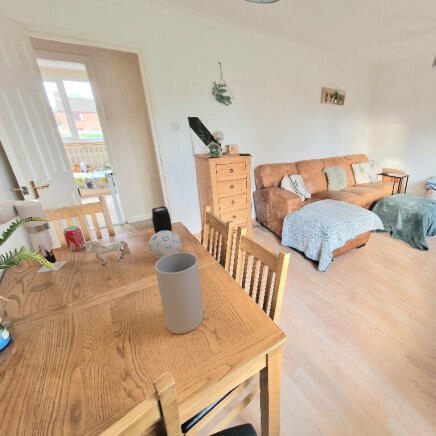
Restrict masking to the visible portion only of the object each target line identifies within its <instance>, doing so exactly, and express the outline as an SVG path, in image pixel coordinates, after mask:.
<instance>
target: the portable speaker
mask: <svg viewBox="0 0 436 436" xmlns="http://www.w3.org/2000/svg"><path fill="white" fill-rule="evenodd" d="M151 213H152V214H151V221H152V225H153V230H154V231H153V232H154V234H155V233H158V232H160V231H172V232H173V227H172V220H171V219H172V218H171V215H170V212H169V209H168V207H167V206H159V207H153V208H152V209H151Z"/></svg>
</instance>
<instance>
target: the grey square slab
mask: <svg viewBox="0 0 436 436" xmlns="http://www.w3.org/2000/svg"><path fill="white" fill-rule="evenodd" d="M59 262H61V264H59ZM66 263H68V261H67V260H66V261H65V260H63V261H56V262H55V264H56V265H57V268H56V269H50V268H47V266H45V264H44V265H43V266H42V267H40V268H39V269H38V270H37V271H36V273H45V272H56V271H57V272H58V271H59V270H60V269H61V268H62V267H63V266H64V265H66ZM58 264H59V265H58ZM56 265H55V266H56Z"/></svg>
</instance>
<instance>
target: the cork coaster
mask: <svg viewBox="0 0 436 436" xmlns="http://www.w3.org/2000/svg"><path fill="white" fill-rule="evenodd" d="M51 285H52V281H49V280H46V281H41V282H38V283H36V284H34V285H32V286H31V287H30V290H31V292H38V291H39V292H40V291H43V290H45V289H48V288H49V287H50V286H51Z"/></svg>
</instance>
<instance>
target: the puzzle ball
mask: <svg viewBox="0 0 436 436" xmlns="http://www.w3.org/2000/svg"><path fill="white" fill-rule="evenodd" d="M182 243H183V242H182V239H181V237H180V236H179V235H178V234H177V233H176V232H175V231H173V230H172V231H160V232H158V233H155V232H154V234H153V235H152V236H151V237H150V238H149V241H148V244H147V249H148V253H149V254H150V255H151V256H152V257H153V258H154V259H157V260H160V259H161V258H163V257H165V256H167V255H170V254H173V253H180V252H181V250H182V245H183V244H182Z"/></svg>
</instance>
